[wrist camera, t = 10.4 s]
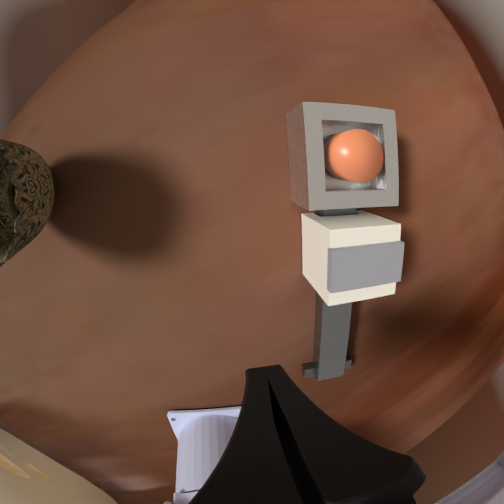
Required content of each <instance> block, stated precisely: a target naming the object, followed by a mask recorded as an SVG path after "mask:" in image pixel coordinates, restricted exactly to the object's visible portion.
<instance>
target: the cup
mask: <svg viewBox="0 0 504 504" xmlns="http://www.w3.org/2000/svg"><path fill="white" fill-rule="evenodd" d="M56 197H57V182H56V179H55V177H54V175H53V173H52V172H51V171H50V169H49V167H48V165H47V163H46V162H45V160H44V159H43V158H42V157H41V156H40V155H39V154H38V153H37V152H35V151H34V150H32V149H31V148H28V147H26V146H24V145H21V144H17V143H13V142H9V141H5V140H1V139H0V267H1V266H2V265H3V264H4V263H5V262H7V261H8V260H9V259H10V258H12V257H13V256H14V255H15V254H17V253H18V252H19V251H20V250H21V249H23V248H24V247H25V246H26V245H28V244H29V243H30V242H31V241H32V240H33V239H34V238H35V237H36V236H37V235H38V234H39V233H40V232H41V231H42V229H43V228H44V226H45V225H46V223H47V221H48V219H49V217H50V214H51V211H52V208H53V204H54V202H55V200H56Z"/></svg>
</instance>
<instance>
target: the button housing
mask: <svg viewBox="0 0 504 504" xmlns="http://www.w3.org/2000/svg"><path fill="white" fill-rule="evenodd" d="M285 120H286V133H287V147H288V163H289V180H290V199H291V202H292V203H294V204H296V205H298V206H300V207H302V208H304V209H306V210H309V211H313V210H328V209H345V208H363V207H385V206H398V203H399V173H398V146H397V131H396V119H395V110H389V109H382V108H375V107H367V106H358V105H347V104H335V103H319V102H302V103H300V104H299V105H297V106H296V107H295V108H293V109H292V110H291V111H289V112H288V113H286V114H285ZM353 129H363V130H366V131H368V132H370V133H371V134H373V135H374V136H375V137H376V138H377V140H378V141H379V143H380V145H381V147H382V150H383V165H382V168H381V171H380V172H379V174H378V175H377V176H376V177H375V178H374V179H372V180H371V181H368V182H363V183H361V182H353V181H346V180H340V179H337V178H335V177H333V176H332V175H331V174H330V173H329V172H328V171H327V169H326V168H325V165H324V147H323V146H324V144H325V142H326V141H327V139H328V138H329V137H331V136H332V135H334V134H336V133H340V132H344V131H349V130H353Z"/></svg>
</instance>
